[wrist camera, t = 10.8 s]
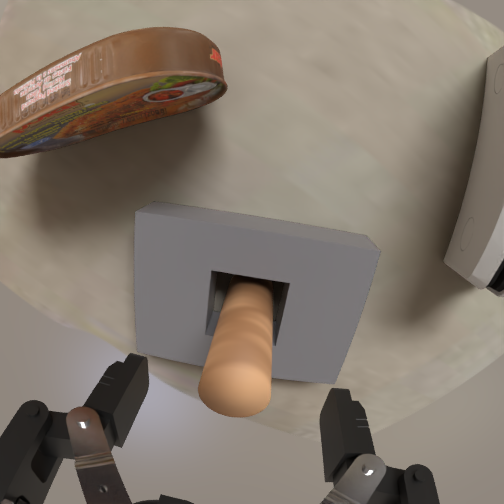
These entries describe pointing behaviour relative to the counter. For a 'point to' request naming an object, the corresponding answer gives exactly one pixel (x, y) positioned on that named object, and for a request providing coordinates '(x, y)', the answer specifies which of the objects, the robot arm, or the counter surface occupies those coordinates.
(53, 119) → the tin
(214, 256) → the hole block
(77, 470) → the robot arm
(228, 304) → the peg
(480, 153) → the hinge
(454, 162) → the counter surface
